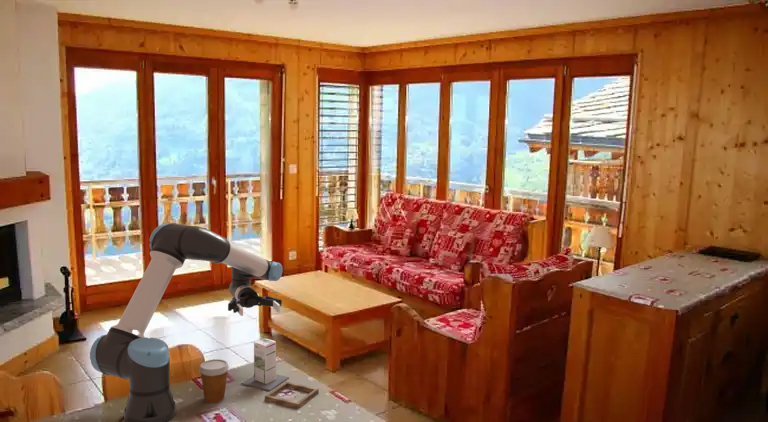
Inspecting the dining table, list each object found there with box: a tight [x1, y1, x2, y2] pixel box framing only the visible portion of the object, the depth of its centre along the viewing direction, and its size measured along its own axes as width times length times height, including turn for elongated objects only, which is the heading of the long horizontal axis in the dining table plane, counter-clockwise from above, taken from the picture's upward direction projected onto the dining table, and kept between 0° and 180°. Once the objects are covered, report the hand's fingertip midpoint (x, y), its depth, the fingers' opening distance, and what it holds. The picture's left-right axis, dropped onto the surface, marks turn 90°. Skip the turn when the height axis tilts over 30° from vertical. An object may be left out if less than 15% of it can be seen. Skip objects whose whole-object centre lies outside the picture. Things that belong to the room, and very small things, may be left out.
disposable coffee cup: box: [198, 358, 230, 404], centre depth 196 cm, size 10×10×12 cm
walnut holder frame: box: [264, 381, 320, 409], centre depth 200 cm, size 13×13×2 cm
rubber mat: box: [240, 373, 290, 392], centre depth 211 cm, size 12×12×1 cm
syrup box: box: [253, 337, 277, 384], centre depth 210 cm, size 6×6×14 cm
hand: (260, 310), depth 215 cm, fingers open, 13 cm apart
